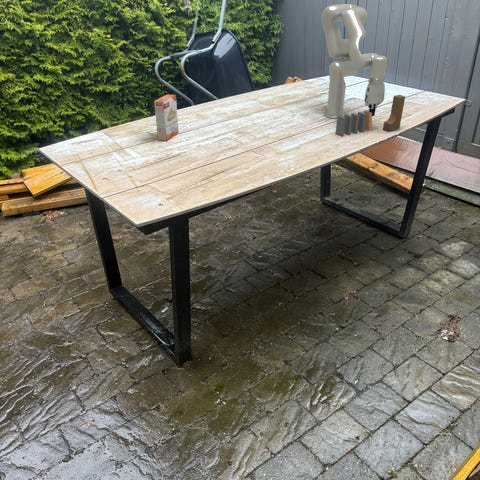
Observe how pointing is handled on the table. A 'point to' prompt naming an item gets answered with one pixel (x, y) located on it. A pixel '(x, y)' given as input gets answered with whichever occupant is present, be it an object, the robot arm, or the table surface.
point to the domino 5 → (368, 120)
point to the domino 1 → (340, 125)
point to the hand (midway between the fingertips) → (371, 115)
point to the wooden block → (395, 114)
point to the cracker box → (166, 117)
